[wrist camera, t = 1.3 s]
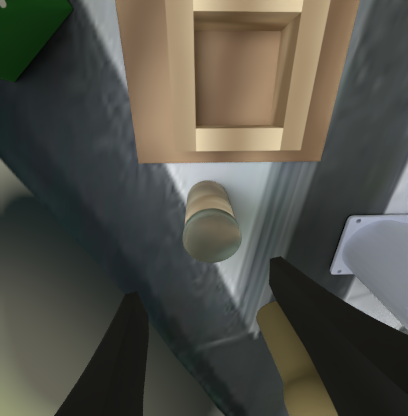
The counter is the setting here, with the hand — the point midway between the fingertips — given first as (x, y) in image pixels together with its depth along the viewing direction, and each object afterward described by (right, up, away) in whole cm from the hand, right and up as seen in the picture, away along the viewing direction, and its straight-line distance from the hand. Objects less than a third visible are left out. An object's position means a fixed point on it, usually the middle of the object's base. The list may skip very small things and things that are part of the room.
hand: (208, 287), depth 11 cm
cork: (+10, -11, +18) cm, 23 cm away
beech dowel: (0, +5, +10) cm, 11 cm away
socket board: (+2, +14, +5) cm, 15 cm away
